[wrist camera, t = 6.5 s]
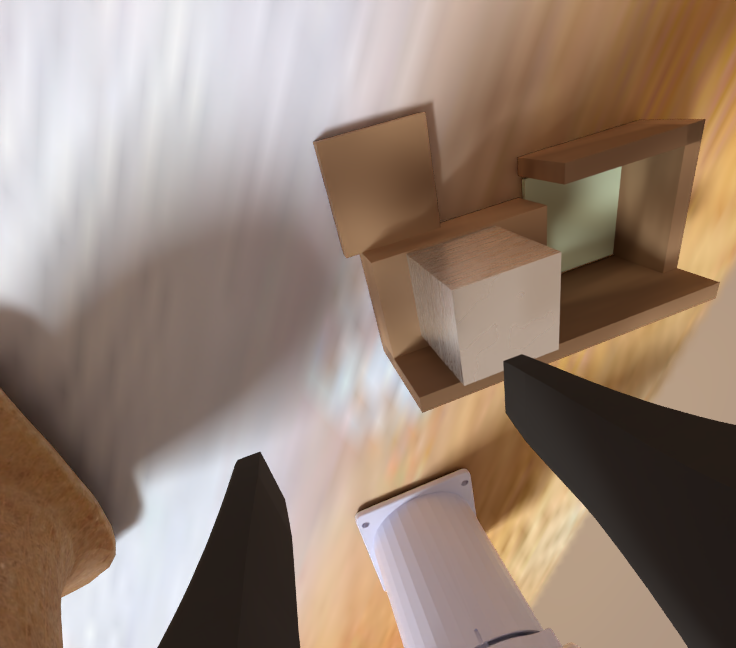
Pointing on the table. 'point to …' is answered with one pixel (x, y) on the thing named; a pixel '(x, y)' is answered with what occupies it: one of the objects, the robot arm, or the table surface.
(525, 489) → the table surface
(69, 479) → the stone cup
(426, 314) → the steel cube
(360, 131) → the walnut cabinet
